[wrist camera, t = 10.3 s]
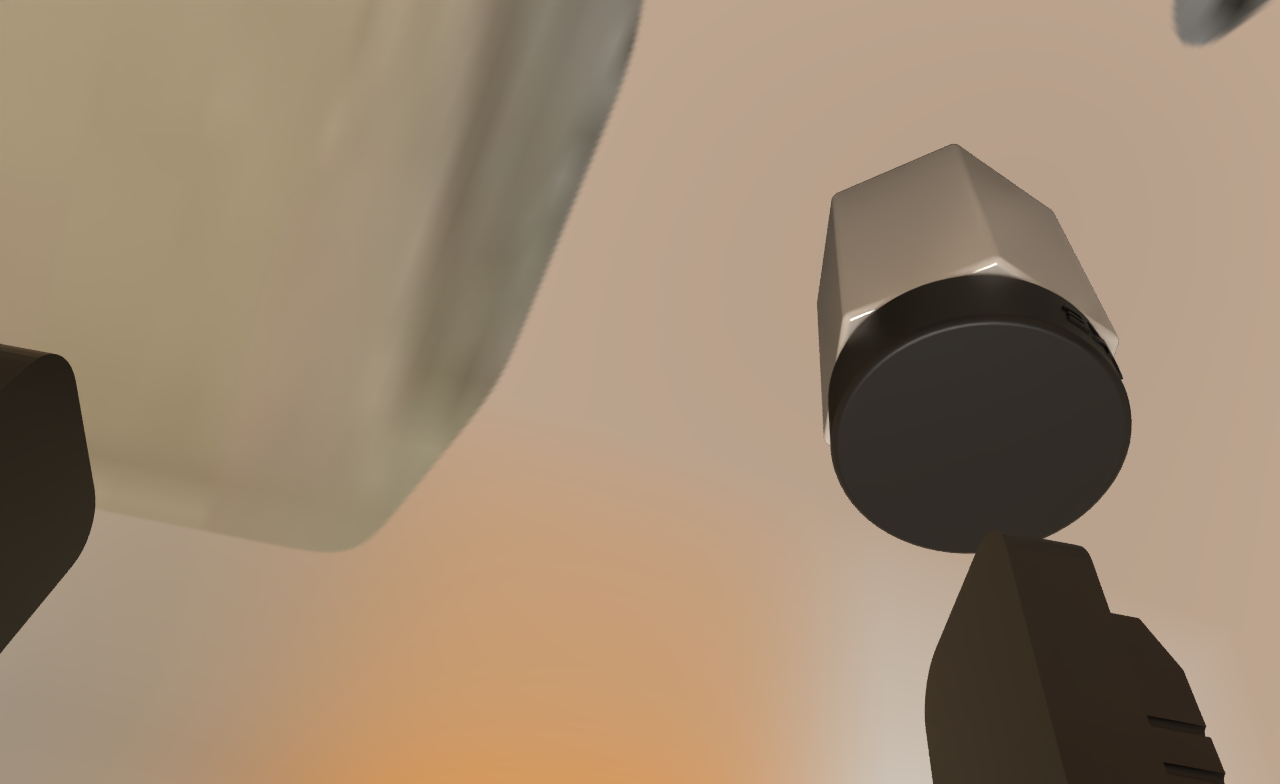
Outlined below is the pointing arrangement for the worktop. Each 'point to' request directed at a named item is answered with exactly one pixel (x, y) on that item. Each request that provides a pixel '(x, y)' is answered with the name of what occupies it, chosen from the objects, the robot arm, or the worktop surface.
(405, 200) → the worktop surface
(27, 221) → the worktop surface
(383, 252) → the worktop surface
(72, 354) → the worktop surface
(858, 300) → the jar
